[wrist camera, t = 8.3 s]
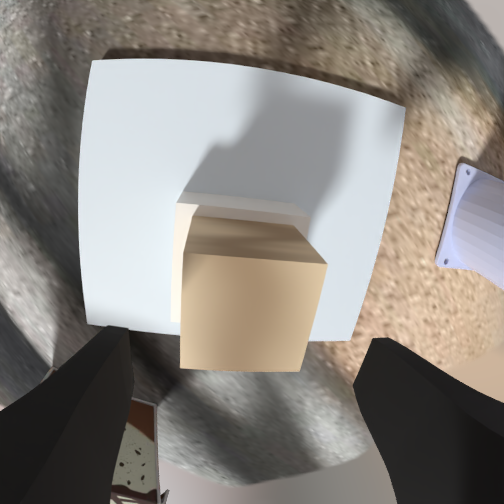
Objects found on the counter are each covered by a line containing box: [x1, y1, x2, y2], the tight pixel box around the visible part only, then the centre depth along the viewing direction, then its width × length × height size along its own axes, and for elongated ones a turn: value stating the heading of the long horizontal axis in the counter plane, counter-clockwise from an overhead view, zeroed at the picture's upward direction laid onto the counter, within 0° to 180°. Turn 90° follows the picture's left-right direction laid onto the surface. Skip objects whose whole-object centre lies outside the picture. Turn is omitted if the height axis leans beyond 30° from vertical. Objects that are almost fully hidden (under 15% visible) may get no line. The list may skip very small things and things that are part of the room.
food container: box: [41, 366, 169, 504], centre depth 17 cm, size 12×6×10 cm, turn 66°
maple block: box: [180, 216, 328, 372], centre depth 12 cm, size 4×4×4 cm
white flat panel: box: [78, 59, 406, 341], centre depth 17 cm, size 18×16×1 cm
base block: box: [171, 191, 311, 323], centre depth 16 cm, size 6×6×3 cm
